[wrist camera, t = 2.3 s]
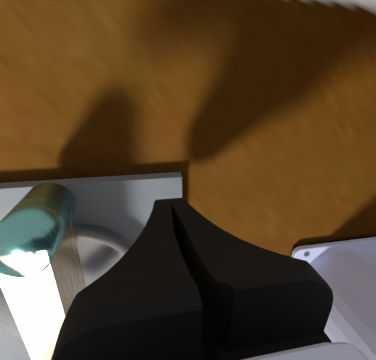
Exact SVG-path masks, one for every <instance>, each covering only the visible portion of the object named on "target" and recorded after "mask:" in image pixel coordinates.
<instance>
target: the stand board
mask: <svg viewBox="0 0 376 360" xmlns="http://www.w3.org/2000/svg"><path fill="white" fill-rule="evenodd" d="M46 182H52V183H57V184H60V185H63V186H65V187H66V188H68V189H69V190H70V191H71V192H72V193H73V195H74V196H75V198H76V202H77V207H76V211H75V213H74V215H73V217H72V219H71V220H72V224H85V225H91V226H96V227H100V228H103V229H106V230H109V231H111V232H113V233H115V234H117V235H119V236H121V237H122V238H124V239H125V240H126V241H128V242H129V243H130V244H131V245H133V243H134V242H135V241H136V239H137V238H138V236H139V235H140V233H141V232H142V230H143V228H144V227H145V225H146V223H147V221H148V219H149V217H150V214H151V212H152V209H153V205H154V201H155V200H159V199H171V198H182V176H181V173H180V172H168V173H152V174H136V175H120V176H103V177H87V178H71V179H55V180H38V181H22V182H6V183H0V221H1V220H2V219H3V218H4V217H5V216H6V215H7V214H8V213H9V212H10V211H11V210H12V209H13V207H14V206H15V205H16V204H17V203H18V202H19V201H20V200H21V199H22V198H23V197H24V196H25V195H26V194H27V193H28V192H29V191H30V190H31V189H32V188H33V187H34V186H36V185H38V184H41V183H46ZM0 360H31V358H30V355H29V353H28V351H27V348H26V346H25V343H24V341H23V340H22V339H20V338H18V337H16V336H14V335H12V334H11V333H10V332H8V331H7V330H5V329H4V328H3V327H2V326H1V325H0Z"/></svg>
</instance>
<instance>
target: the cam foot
mask: <svg viewBox="0 0 376 360" xmlns="http://www.w3.org/2000/svg"><path fill="white" fill-rule="evenodd" d="M76 207H77V202H76V198H75V196H74V195H73V193H72V192H71V191H70V190H69V189H68V188H66V187H65V186H63V185H60V184H57V183H52V182H46V183H41V184H38V185H36V186H34V187H33V188H32V189H31V190H30V191H29V192H28V193H27V194H26V195H25V196H24V197H23V198H22V199H21V200H20V201H19V202H18V203H17V204H16V205H15V206H14V207H13V209H12V210H11V211H10V212H9V213H8V214H7V215H6V216H5V217H4V218H3V219H2V220H1V221H0V325H1V326H2V327H3V328H4V329H5V330H7V331H8V332H10V333H11V334H12V335H14V336H16V337H18V338H20V339H22V340H23V341H24V343H25V346H26V348H27V351H28V353H29V355H30V358H31V360H51V358H52V355H53V351H54V348H55V345H56V341H57V338H58V334H59V331H60V328H61V326H62V323H63V321H64V318H65V316H66V314H67V312H68V310H69V308H70V306H71V304H72V301H73V299H74V298H75V296H76V294H77V293H78V292H80V291H81V290H83V289H84V288H86V287H87V286H88V285H90V284H91V283H93V282H94V281H95V280H97V279H98V278H99V277H101V276H102V275H103V274H105V273H106V272H107V271H108V270H109V269H110V268H111V267H112V266H114V265H115V264H116V263H117V262H118V261H119V260H120V259H121V258H122V257H123V255H124V254H125V253H126V252H127V251H128V250H129V249H130V247H131V246H132V245H131V244H130V243H129V242H128V241H126V240H125V239H124V238H122V237H121V236H119V235H117V234H115V233H113V232H111V231H109V230H106V229H103V228H100V227H96V226H91V225H85V224H72V220H71V219H72V217H73V215H74V213H75V211H76Z"/></svg>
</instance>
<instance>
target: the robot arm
mask: <svg viewBox="0 0 376 360" xmlns="http://www.w3.org/2000/svg"><path fill="white" fill-rule="evenodd" d="M51 360H376V237H370V238H362V239H354V240H346V241H338V242H330V243H322V244H314V245H306V246H299V247H296V248H295V249H294V250H293V252H292V256H291V257H289V256H285V255H282V254H278V253H275V252H272V251H269V250H266V249H263V248H260V247H258V246H255V245H252V244H250V243H248V242H246V241H243V240H241V239H239V238H237V237H235V236H233V235H231V234H229V233H228V232H226V231H224V230H222V229H221V228H219V227H217V226H216V225H214V224H213V223H211V222H210V221H209V220H207V219H206V218H205V217H203V216H202V215H201V214H200V213H198V212H197V211H196V210H195V209H194V208H193V207H191V206H190V205H189V204H188V203H187V202H186V201H185V200H184V199H183V198H171V199H159V200H155V201H154V205H153V209H152V212H151V214H150V217H149V219H148V221H147V223H146V225H145V227H144V228H143V230H142V232H141V233H140V235H139V236H138V238H137V239H136V241H135V242H134V243H133V245H132V246H131V247H130V249H129V250H128V251H127V252H126V253H125V254H124V255H123V257H122V258H121V259H120V260H119V261H118V262H117V263H116V264H115V265H114V266H112V267H111V268H110V269H109V270H108V271H107V272H106V273H105V274H103V275H102V276H101V277H99V278H98V279H97V280H95V281H94V282H93V283H91V284H90V285H88V286H87V287H86V288H84V289H83V290H81V291H80V292H78V293H77V294H76V296H75V298H74V299H73V301H72V304H71V306H70V308H69V310H68V312H67V314H66V316H65V318H64V321H63V323H62V326H61V328H60V331H59V334H58V338H57V341H56V345H55V348H54V351H53V355H52V358H51Z"/></svg>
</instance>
